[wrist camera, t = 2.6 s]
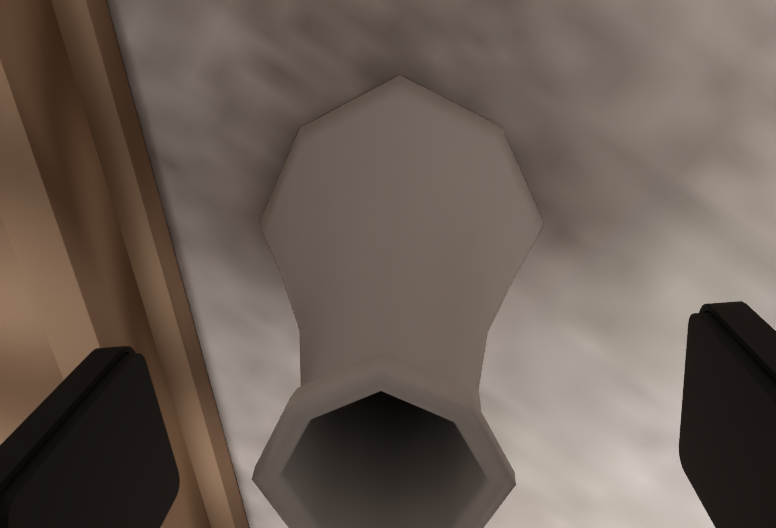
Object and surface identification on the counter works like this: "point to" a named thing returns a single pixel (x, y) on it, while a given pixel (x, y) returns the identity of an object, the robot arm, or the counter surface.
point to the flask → (393, 311)
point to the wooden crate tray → (94, 244)
